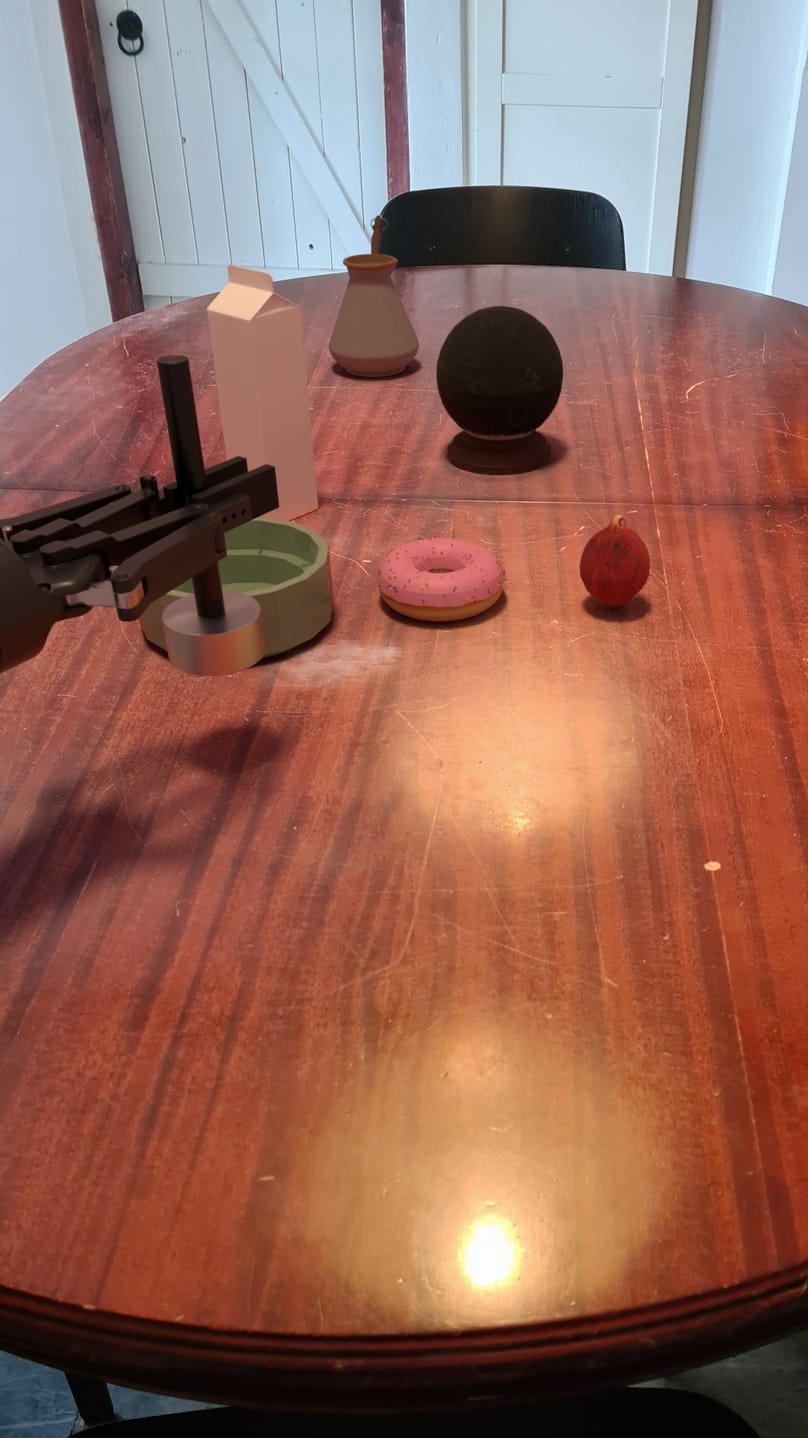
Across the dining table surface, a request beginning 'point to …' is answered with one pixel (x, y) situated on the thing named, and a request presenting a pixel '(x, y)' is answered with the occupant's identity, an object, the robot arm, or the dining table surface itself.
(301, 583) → the bowl
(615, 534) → the onion
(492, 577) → the doughnut
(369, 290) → the coffee pot
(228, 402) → the milk
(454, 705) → the dining table surface
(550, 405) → the black ball on stand
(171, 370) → the paper towel holder
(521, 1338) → the dining table surface
